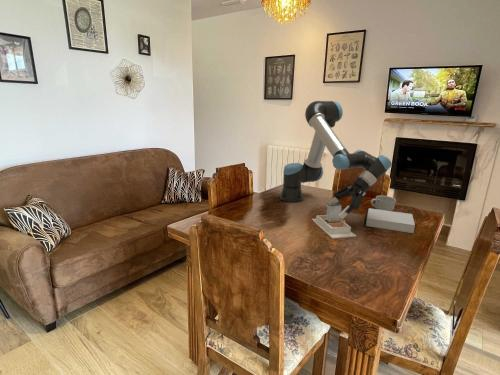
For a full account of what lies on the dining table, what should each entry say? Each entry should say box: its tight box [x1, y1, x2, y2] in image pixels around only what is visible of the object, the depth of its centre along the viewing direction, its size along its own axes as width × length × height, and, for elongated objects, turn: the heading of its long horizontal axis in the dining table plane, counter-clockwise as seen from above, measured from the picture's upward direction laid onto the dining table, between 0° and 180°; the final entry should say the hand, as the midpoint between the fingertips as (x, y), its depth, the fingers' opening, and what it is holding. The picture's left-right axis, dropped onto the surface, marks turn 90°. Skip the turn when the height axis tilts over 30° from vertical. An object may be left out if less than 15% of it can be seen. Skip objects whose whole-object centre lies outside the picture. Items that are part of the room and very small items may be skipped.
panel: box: [326, 201, 343, 223], centre depth 147 cm, size 6×3×12 cm, turn 102°
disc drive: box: [364, 207, 416, 234], centre depth 155 cm, size 18×22×5 cm
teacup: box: [370, 194, 397, 211], centre depth 173 cm, size 14×11×8 cm
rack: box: [311, 214, 357, 240], centre depth 148 cm, size 12×24×4 cm, turn 12°
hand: (333, 212), depth 146 cm, fingers open, 13 cm apart
